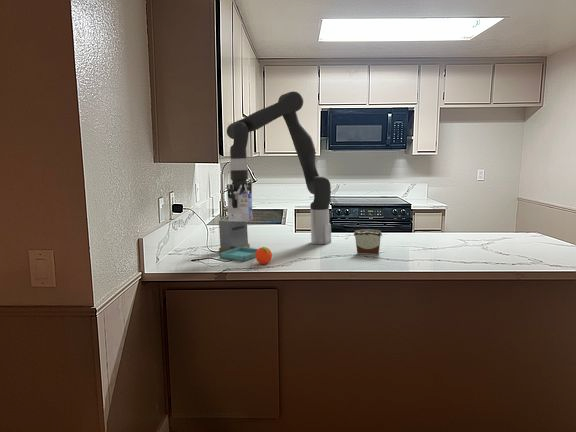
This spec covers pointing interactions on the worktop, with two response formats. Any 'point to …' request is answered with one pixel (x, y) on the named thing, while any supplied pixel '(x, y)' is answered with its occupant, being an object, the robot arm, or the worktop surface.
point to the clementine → (263, 255)
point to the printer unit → (233, 235)
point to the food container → (368, 241)
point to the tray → (239, 254)
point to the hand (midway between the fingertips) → (240, 206)
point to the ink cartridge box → (241, 208)
